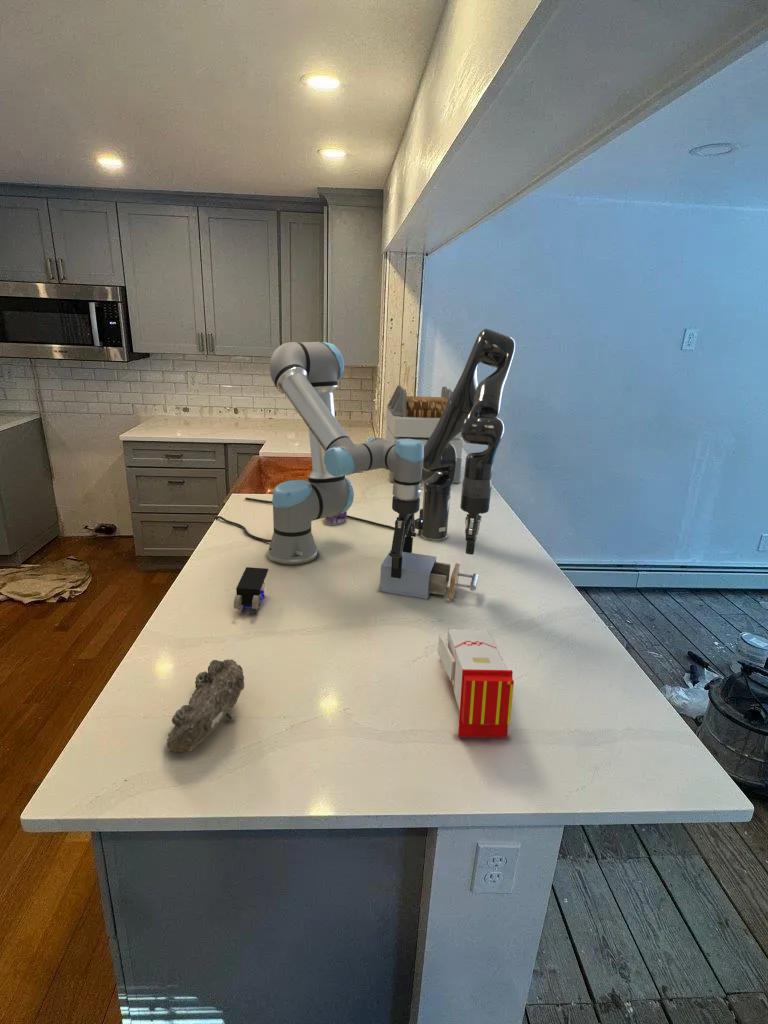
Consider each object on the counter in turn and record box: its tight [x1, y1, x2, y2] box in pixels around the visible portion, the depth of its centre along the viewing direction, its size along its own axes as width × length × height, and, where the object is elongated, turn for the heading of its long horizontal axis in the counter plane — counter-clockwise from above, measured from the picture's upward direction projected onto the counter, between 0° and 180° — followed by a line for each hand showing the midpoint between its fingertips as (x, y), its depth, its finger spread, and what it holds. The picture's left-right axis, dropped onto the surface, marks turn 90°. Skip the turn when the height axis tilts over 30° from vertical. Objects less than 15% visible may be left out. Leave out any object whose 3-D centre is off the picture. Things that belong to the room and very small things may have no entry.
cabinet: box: [379, 550, 437, 600], centre depth 161 cm, size 14×11×8 cm
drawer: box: [428, 561, 480, 600], centre depth 159 cm, size 18×10×6 cm, turn 75°
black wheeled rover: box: [233, 566, 269, 615], centre depth 148 cm, size 7×8×15 cm
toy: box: [437, 628, 515, 738], centre depth 117 cm, size 12×13×30 cm
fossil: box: [166, 658, 245, 754], centre depth 106 cm, size 22×10×15 cm
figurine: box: [323, 510, 348, 526], centre depth 206 cm, size 9×10×15 cm
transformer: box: [384, 384, 464, 484], centre depth 268 cm, size 34×33×41 cm
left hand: (401, 567), depth 161 cm, fingers open, 13 cm apart
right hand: (469, 553), depth 154 cm, fingers closed
